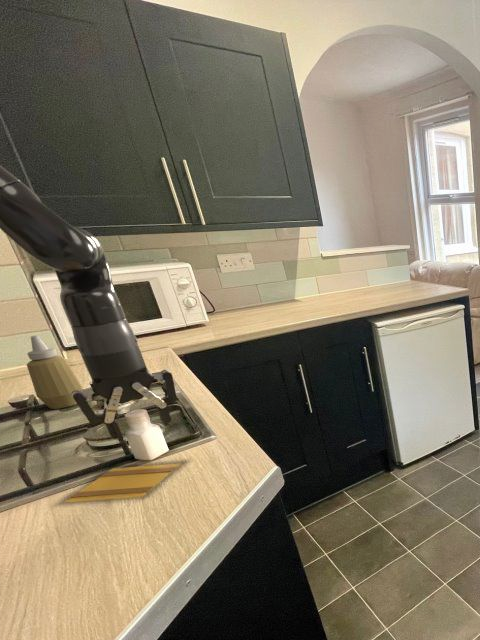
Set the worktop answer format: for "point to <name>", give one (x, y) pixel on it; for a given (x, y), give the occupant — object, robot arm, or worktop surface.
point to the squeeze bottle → (51, 376)
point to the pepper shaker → (144, 436)
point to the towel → (124, 483)
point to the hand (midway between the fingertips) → (143, 431)
